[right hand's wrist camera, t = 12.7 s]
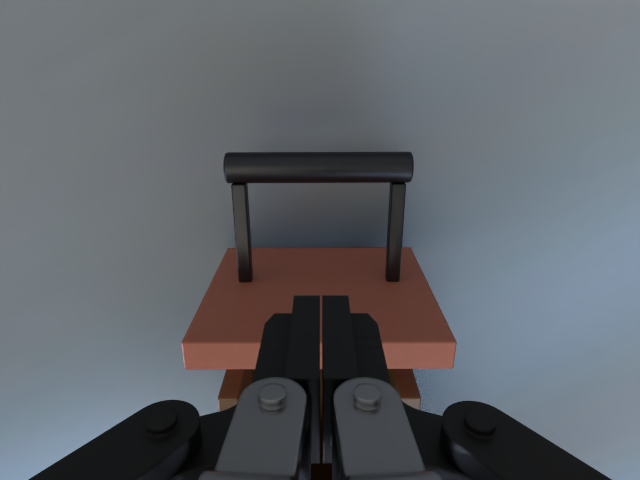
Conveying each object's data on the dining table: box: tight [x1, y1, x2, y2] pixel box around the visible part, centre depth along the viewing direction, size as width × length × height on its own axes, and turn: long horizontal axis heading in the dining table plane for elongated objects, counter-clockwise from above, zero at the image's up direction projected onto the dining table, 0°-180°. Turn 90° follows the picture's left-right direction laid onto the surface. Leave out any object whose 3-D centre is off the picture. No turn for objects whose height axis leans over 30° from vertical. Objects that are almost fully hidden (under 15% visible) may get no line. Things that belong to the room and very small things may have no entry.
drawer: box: [181, 152, 456, 480], centre depth 23 cm, size 26×10×9 cm, turn 0°
